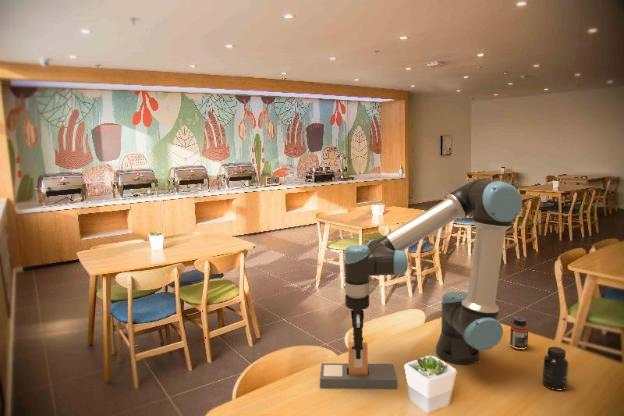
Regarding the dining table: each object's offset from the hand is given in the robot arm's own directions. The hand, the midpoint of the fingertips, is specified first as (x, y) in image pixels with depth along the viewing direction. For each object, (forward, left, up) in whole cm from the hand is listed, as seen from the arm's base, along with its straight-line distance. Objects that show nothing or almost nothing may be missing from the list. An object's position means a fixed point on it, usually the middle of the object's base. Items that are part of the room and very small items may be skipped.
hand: (357, 363), depth 144 cm
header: (0, 0, -7) cm, 7 cm away
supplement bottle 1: (-61, -26, -7) cm, 67 cm away
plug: (0, 0, -5) cm, 5 cm away
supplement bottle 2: (-62, 0, -7) cm, 62 cm away
